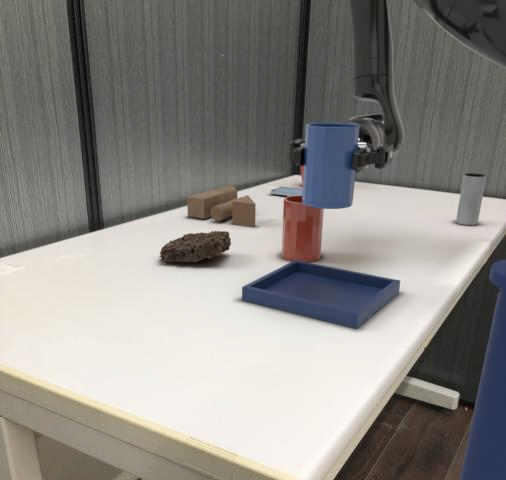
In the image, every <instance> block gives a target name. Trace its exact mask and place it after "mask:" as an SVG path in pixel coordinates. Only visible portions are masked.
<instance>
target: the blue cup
mask: <svg viewBox="0 0 506 480" xmlns="http://www.w3.org/2000/svg"><path fill="white" fill-rule="evenodd" d="M359 128H360V126H359V125H355V124H346V123H341V122H313V123H312V122H310V123H306V124H305V132H304V139H305V150H304V169H303V184H302V188H301V189H302V203H303V204H304V205H306V206H309V207H314V208H321V209H324V210H340V209H341V210H342V209H347V208H350V207H352V206H353V204H354V193H355V182H356V174H355V172H356V170H352V164H353V154H354V152H355V151H357V150H358V139H359Z"/></svg>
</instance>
